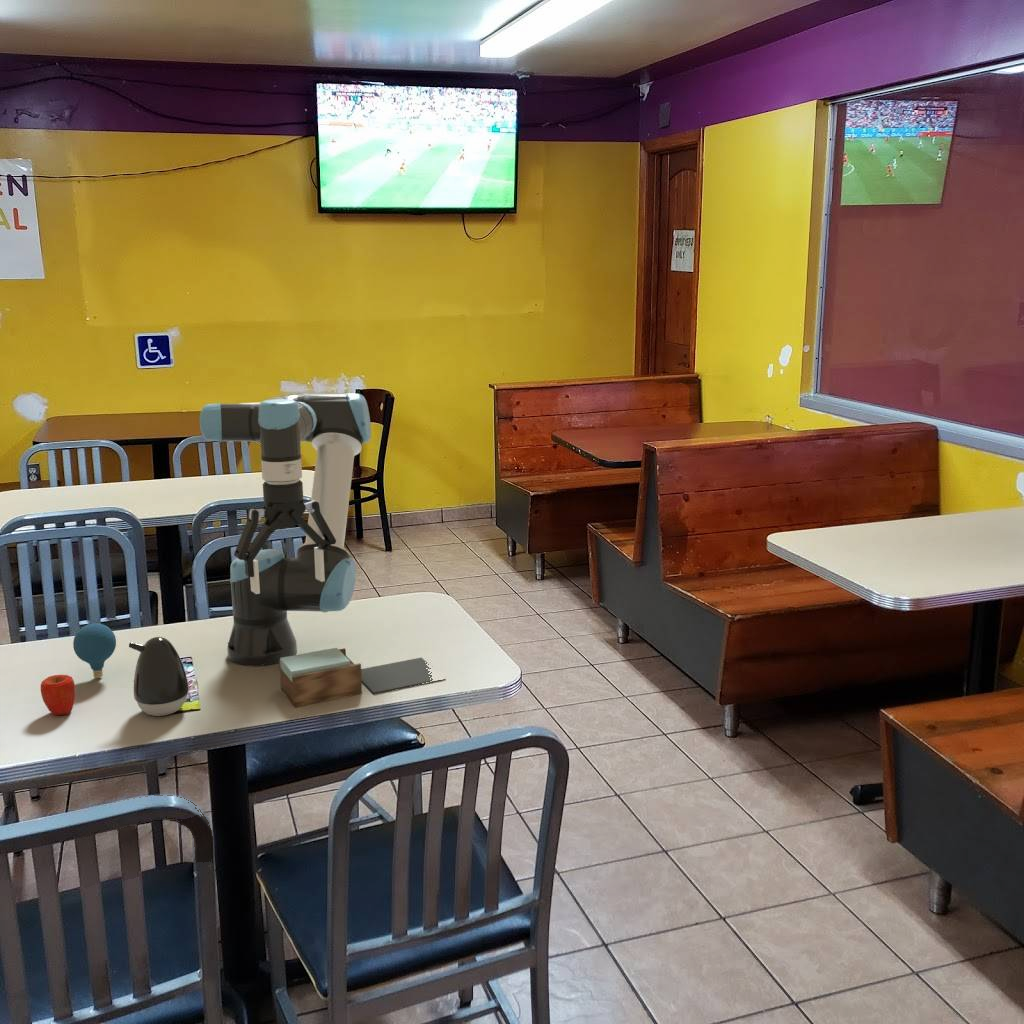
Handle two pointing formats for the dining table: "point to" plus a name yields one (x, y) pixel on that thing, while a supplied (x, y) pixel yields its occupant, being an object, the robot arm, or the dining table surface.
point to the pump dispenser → (159, 678)
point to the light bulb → (94, 646)
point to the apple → (58, 694)
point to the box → (322, 684)
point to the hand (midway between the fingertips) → (288, 586)
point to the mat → (395, 675)
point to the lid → (313, 662)
